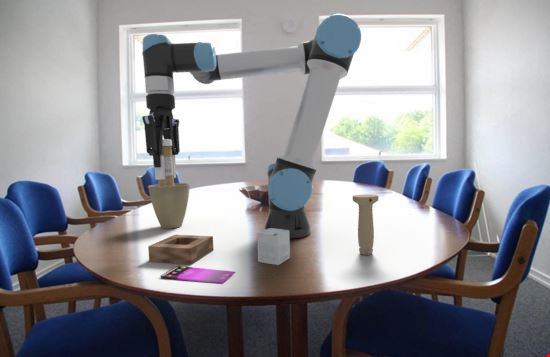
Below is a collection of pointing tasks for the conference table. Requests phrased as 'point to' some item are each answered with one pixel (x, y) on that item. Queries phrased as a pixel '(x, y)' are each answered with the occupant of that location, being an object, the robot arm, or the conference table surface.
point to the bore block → (181, 249)
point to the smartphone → (198, 275)
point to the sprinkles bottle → (167, 165)
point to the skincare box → (273, 246)
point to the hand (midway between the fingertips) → (165, 178)
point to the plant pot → (170, 204)
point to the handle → (365, 222)
